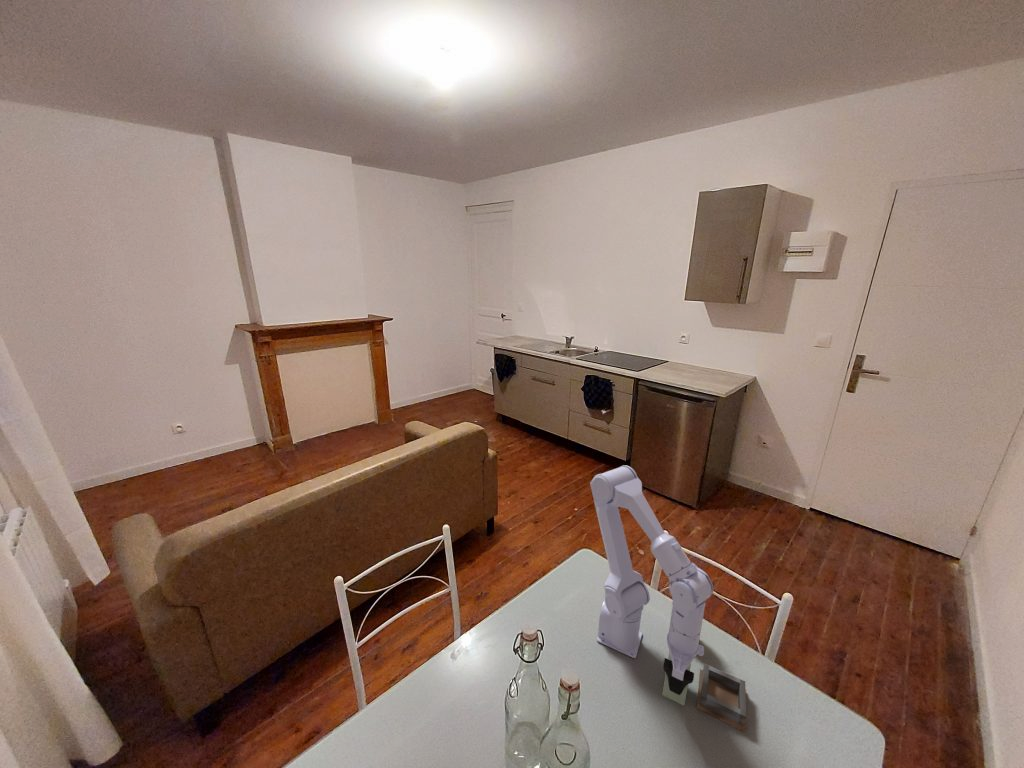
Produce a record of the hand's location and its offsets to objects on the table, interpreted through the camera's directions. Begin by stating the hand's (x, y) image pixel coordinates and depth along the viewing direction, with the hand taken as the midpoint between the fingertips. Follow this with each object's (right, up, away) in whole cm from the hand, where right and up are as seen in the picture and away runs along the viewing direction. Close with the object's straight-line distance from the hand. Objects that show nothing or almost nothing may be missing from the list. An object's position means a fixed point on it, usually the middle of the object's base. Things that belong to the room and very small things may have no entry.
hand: (677, 675), depth 83 cm
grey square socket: (+9, -5, 0) cm, 10 cm away
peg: (0, -4, +1) cm, 5 cm away
